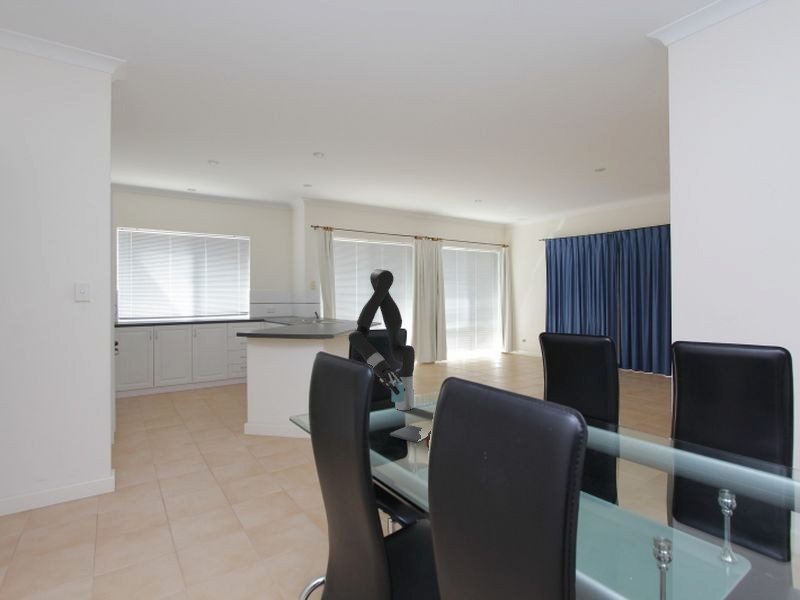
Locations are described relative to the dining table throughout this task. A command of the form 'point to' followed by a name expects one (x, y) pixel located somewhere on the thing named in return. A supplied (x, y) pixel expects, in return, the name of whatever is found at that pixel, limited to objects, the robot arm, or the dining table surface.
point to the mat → (408, 433)
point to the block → (400, 396)
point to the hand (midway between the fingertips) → (401, 392)
